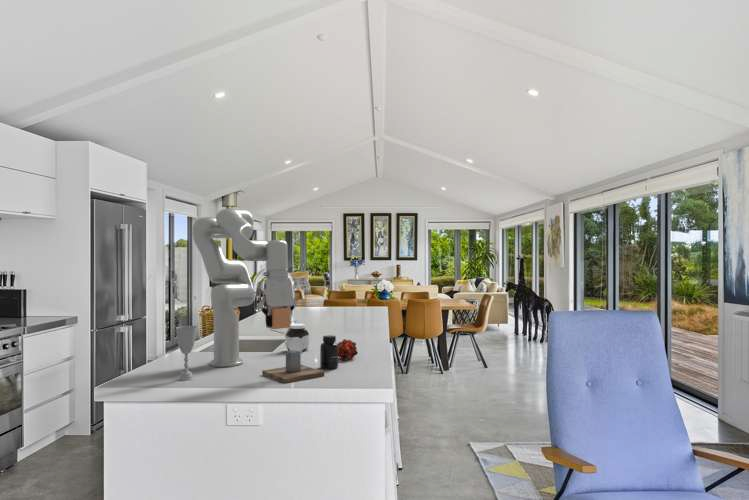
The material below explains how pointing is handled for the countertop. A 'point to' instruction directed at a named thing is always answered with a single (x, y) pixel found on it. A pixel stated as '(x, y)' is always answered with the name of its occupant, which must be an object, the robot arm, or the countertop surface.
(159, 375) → the countertop surface
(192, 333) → the chalice
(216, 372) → the countertop surface
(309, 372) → the walnut board
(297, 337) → the spread jar
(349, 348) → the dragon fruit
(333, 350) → the supplement bottle
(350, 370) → the countertop surface
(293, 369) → the metal post
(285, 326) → the peach colored cube
